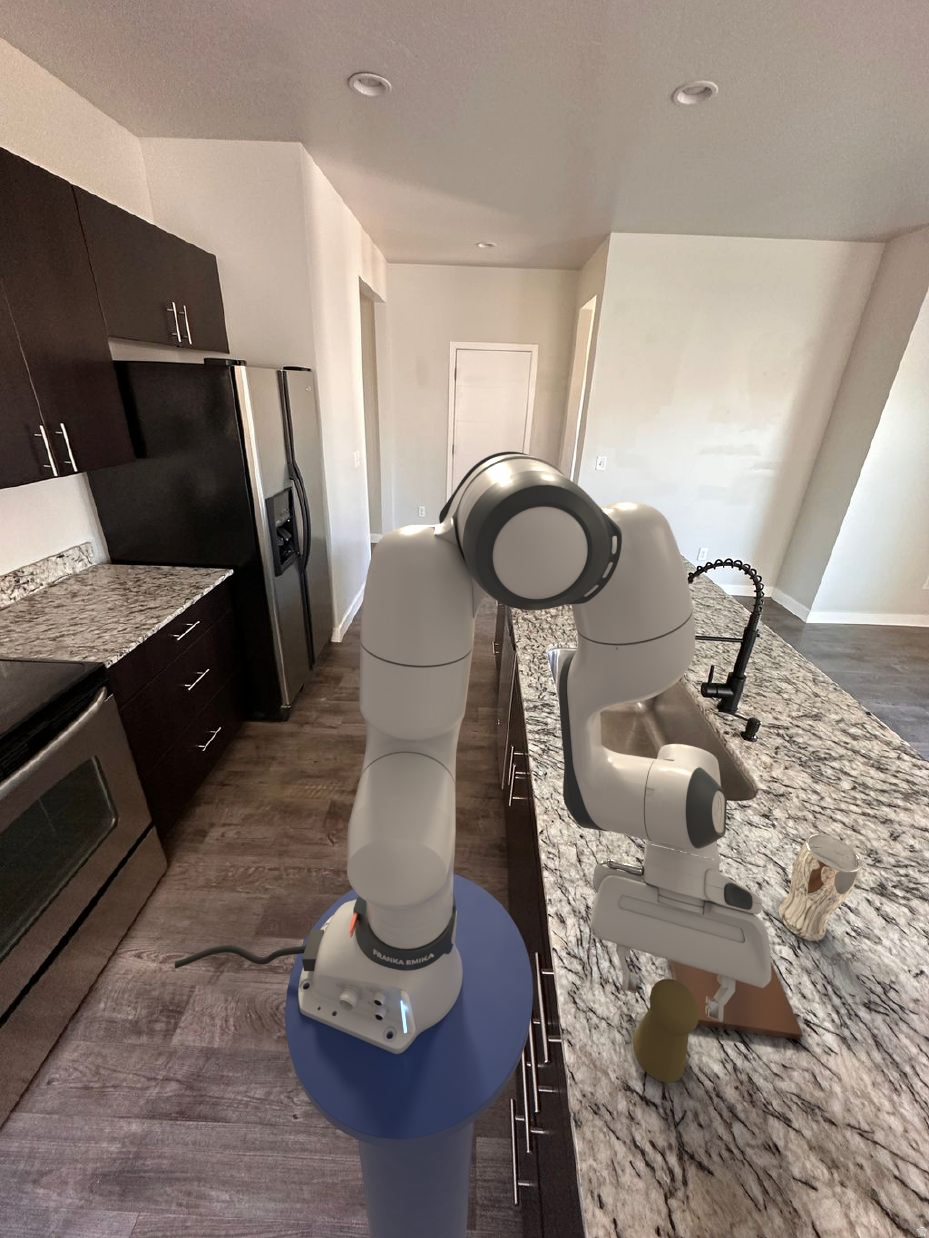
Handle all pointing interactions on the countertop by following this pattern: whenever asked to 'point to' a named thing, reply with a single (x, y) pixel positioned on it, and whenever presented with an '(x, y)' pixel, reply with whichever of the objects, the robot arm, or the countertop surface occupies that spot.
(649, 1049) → the pepper mill
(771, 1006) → the cutting board
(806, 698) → the countertop surface
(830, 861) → the beer glass
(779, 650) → the countertop surface
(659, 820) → the robot arm
